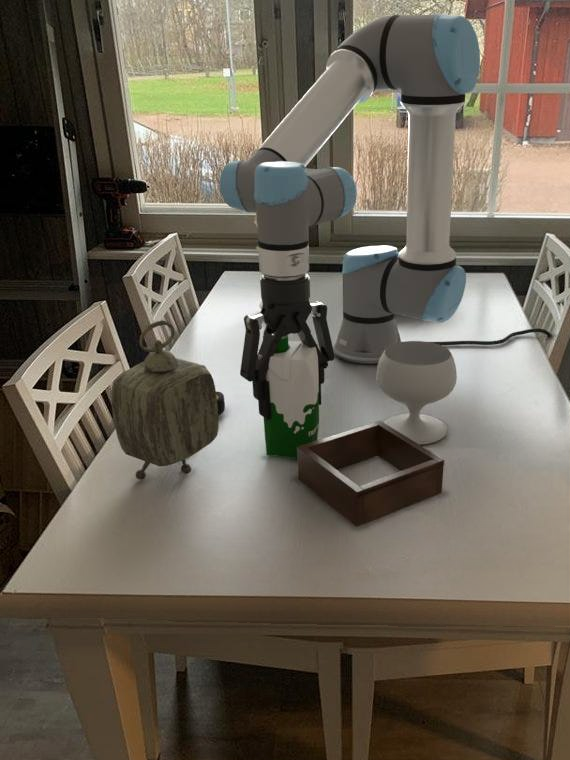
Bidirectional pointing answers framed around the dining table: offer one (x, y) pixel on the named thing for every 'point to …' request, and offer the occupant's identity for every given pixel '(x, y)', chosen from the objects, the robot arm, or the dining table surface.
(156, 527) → the dining table surface
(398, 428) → the chalice
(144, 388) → the tabletop clock
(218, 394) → the tape measure
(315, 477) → the crate
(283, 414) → the soya milk
